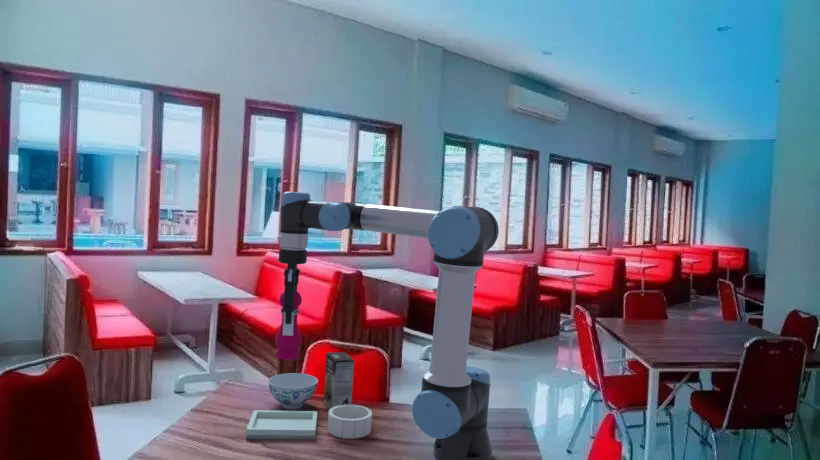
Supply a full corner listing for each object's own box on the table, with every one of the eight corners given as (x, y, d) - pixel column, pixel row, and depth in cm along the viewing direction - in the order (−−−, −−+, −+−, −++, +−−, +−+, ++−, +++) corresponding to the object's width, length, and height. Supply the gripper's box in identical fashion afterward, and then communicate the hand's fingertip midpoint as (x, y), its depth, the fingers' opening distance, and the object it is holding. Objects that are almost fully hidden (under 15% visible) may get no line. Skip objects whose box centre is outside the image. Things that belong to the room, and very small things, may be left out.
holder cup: (378, 428, 172) (379, 410, 172) (355, 441, 161) (356, 423, 161) (344, 418, 177) (344, 401, 177) (319, 431, 167) (320, 413, 167)
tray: (316, 419, 175) (317, 411, 175) (314, 439, 161) (315, 430, 161) (253, 418, 173) (253, 410, 173) (245, 438, 159) (246, 429, 159)
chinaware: (297, 393, 197) (298, 370, 196) (326, 406, 186) (327, 382, 186) (257, 403, 186) (258, 378, 185) (286, 417, 175) (287, 391, 175)
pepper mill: (294, 361, 162) (298, 287, 161) (269, 358, 163) (273, 285, 162) (304, 354, 169) (308, 284, 168) (280, 351, 170) (284, 281, 169)
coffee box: (323, 403, 189) (325, 352, 188) (342, 401, 192) (345, 351, 191) (331, 413, 181) (334, 360, 180) (352, 411, 184) (354, 359, 183)
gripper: (282, 244, 173) (278, 324, 175) (275, 251, 155) (270, 340, 156) (309, 246, 174) (304, 325, 176) (305, 252, 156) (300, 341, 157)
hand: (288, 332), depth 166 cm, fingers closed on pepper mill, 6 cm apart
